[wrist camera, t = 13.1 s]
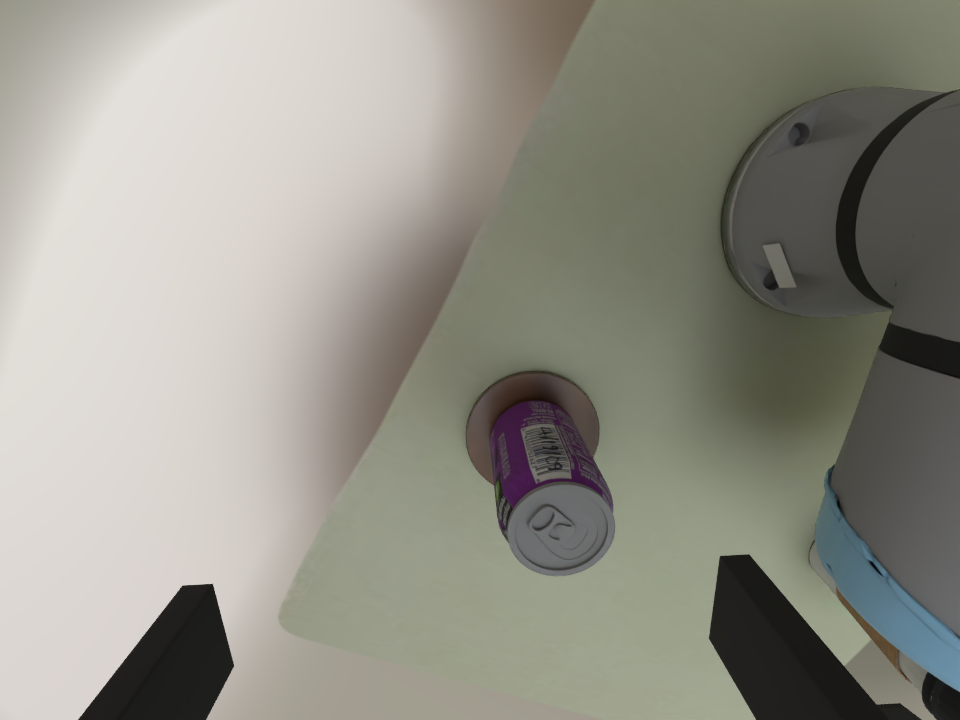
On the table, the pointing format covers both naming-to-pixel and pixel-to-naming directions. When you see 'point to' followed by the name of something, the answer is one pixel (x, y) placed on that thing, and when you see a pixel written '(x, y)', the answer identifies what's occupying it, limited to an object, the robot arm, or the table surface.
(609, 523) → the beverage can
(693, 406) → the table surface
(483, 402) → the coaster
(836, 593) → the coffee cup
